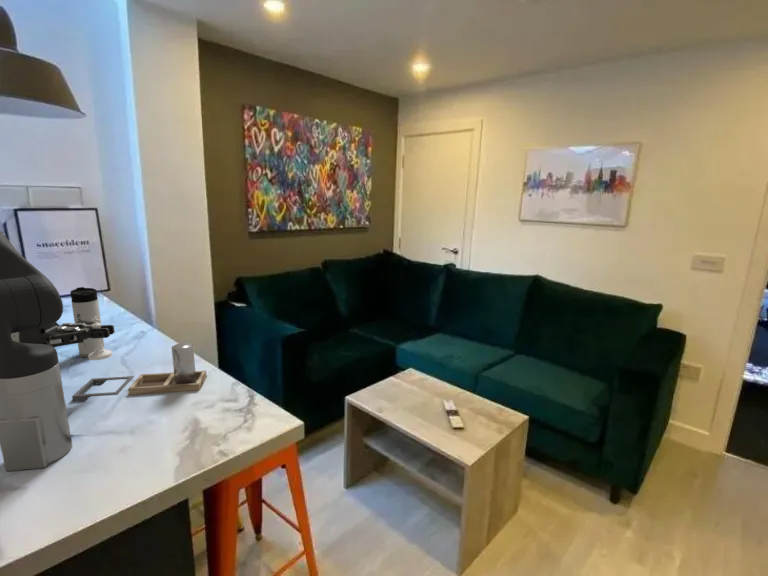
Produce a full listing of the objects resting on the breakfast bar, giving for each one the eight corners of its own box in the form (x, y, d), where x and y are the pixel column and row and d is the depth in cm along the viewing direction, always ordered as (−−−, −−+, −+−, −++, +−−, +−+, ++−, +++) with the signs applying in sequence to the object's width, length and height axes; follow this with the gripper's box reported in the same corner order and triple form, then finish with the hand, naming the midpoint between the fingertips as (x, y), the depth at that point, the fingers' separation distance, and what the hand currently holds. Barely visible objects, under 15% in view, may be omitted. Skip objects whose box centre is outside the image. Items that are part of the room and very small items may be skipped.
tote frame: (118, 397, 97) (117, 393, 97) (72, 401, 95) (71, 396, 95) (133, 380, 106) (133, 376, 106) (92, 382, 104) (92, 378, 104)
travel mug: (100, 348, 127) (92, 285, 123) (108, 353, 123) (99, 289, 119) (76, 353, 123) (66, 288, 118) (83, 359, 119) (73, 292, 114)
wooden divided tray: (200, 394, 100) (199, 384, 99) (128, 398, 97) (126, 389, 96) (207, 379, 108) (207, 370, 107) (141, 383, 105) (140, 374, 104)
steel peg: (193, 387, 101) (190, 349, 99) (172, 388, 100) (168, 350, 98) (198, 379, 106) (195, 342, 103) (178, 380, 105) (174, 343, 103)
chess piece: (100, 361, 96) (94, 320, 94) (82, 359, 97) (76, 318, 95) (117, 353, 101) (112, 314, 98) (100, 352, 101) (95, 313, 99)
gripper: (4, 328, 87) (95, 324, 91) (43, 311, 100) (121, 308, 104) (10, 361, 89) (99, 356, 92) (48, 340, 102) (124, 336, 105)
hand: (110, 331), depth 98 cm, fingers closed on chess piece
